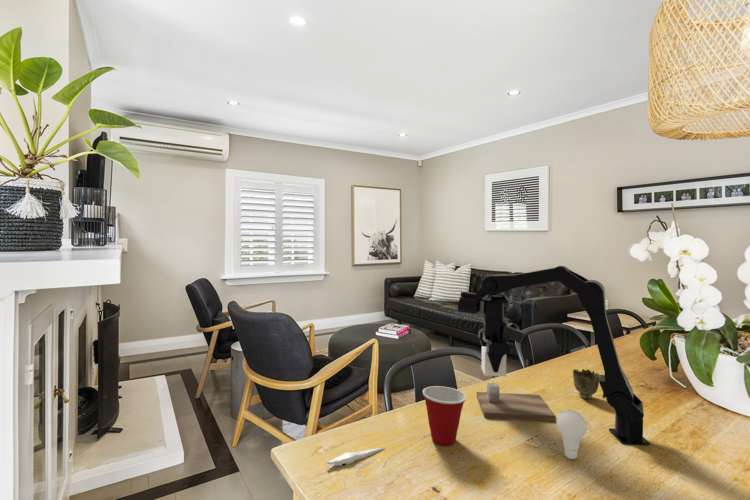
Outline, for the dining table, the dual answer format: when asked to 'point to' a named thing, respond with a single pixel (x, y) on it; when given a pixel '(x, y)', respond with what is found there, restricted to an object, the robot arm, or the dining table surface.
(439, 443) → the plastic cup
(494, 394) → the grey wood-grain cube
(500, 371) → the off-white cube
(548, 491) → the dining table surface
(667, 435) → the dining table surface
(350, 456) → the white tapered spike
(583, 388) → the dark bronze hollow piece
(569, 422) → the lightbulb
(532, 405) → the board
